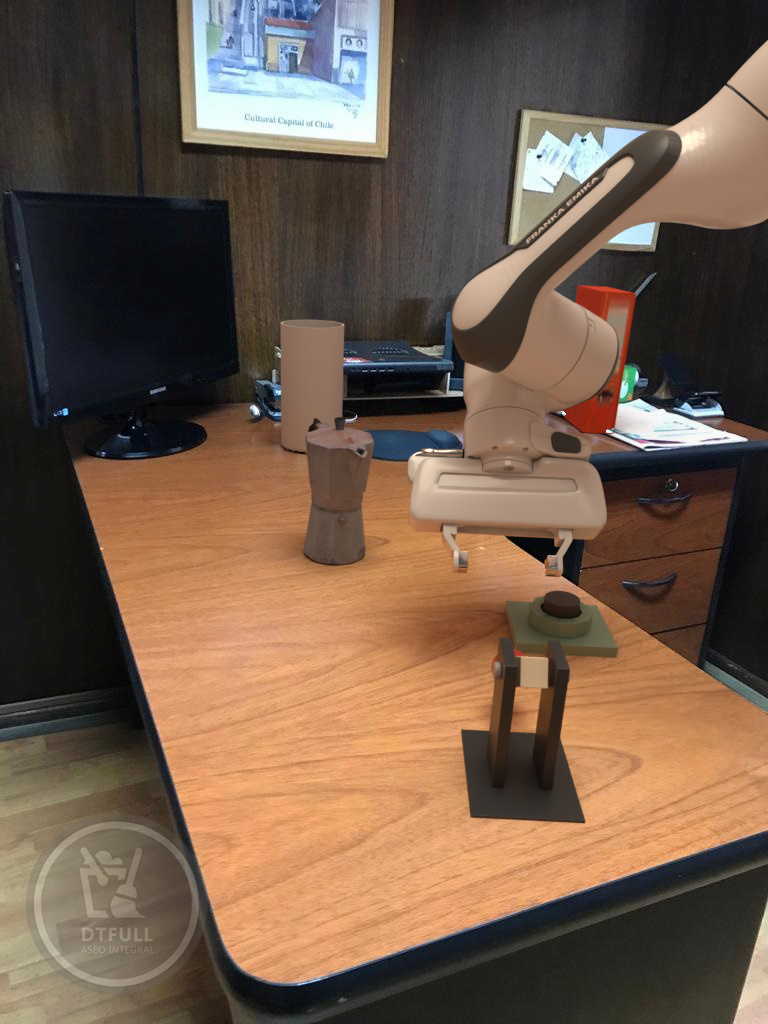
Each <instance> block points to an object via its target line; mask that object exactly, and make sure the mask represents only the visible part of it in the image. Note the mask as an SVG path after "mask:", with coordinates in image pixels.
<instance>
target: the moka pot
mask: <svg viewBox="0 0 768 1024" xmlns="http://www.w3.org/2000/svg"><path fill="white" fill-rule="evenodd" d="M346 420H347V419H346V418H345V417H344V416H342V417H337V418H335V419H334V421H335V427H330V426H329V425H328V424H326V423H321V422H320V421H319V419H317V418H314V420H313V424H312V425H311V426H310V427H309V430H308V433H306V434H305V438H306V449H307V453H306V455H307V456H306V458H307V469H308V479H309V486H310V491H311V492H310V496H311V497H310V501H311V503H310V510H309V515H308V521H307V527H306V528H307V529H306V533H305V538H304V545H303V553H304V554H305V556H306V557H308V559H310V560H312V561H314V562H317V563H320V564H323V565H331V566H334V565H335V566H336V565H337V566H342V565H349V564H352V563H356V562H358V561H359V560H361V559H363V557H365V555H366V541H365V540H366V539H365V527H364V517H363V516H364V515H363V505H362V504H363V499H364V493H366V490H367V487H368V480H369V475H370V469H371V462H372V458H373V454H374V447H375V441H374V438H373V437H372V433H370V432H367V431H364V430H360V429H357V428H353V427H345V425H346Z"/></svg>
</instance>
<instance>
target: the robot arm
mask: <svg viewBox="0 0 768 1024" xmlns="http://www.w3.org/2000/svg"><path fill="white" fill-rule="evenodd" d="M766 220H768V40H766V41H765V42H764V43H762V45H761V46H760V47H759V48H758V49H757V50H756V51H755V52H754V53H753V54H751V56H750V57H749V58H748V59H747V60H746V61H745V62H744V63H743V64H742V66H740V68H739V69H738V70H737V71H736V72H735V73H734V74H733V76H731V78H730V79H729V80H728V81H727V82H726V85H724V86H723V87H722V88H721V89H720V90H719V91H718V92H717V93H716V94H715V95H714V96H713V97H712V98H711V99H710V100H709V101H708V102H706V104H704V105H703V106H702V107H700V109H698V110H696V111H695V112H694V113H692V114H691V115H689V116H688V117H687V118H685V119H683V120H681V121H680V122H678V123H676V124H675V125H672V126H671V127H668V128H666V129H652V130H649V131H645V132H644V133H641V134H640V135H638V136H636V137H634V138H633V139H632V140H630V141H629V142H628V143H627V144H625V145H624V146H623V147H621V148H620V149H619V150H618V151H617V152H615V153H614V154H613V155H611V156H610V157H609V158H608V159H607V160H606V161H604V163H602V165H600V166H599V167H598V168H597V169H596V170H595V171H594V172H592V173H591V175H589V177H587V178H586V179H585V180H584V181H583V182H582V183H581V184H579V185H578V187H576V188H575V189H574V190H573V191H572V192H571V193H570V194H569V195H567V196H566V198H565V199H563V200H562V201H561V202H560V203H559V204H558V205H557V206H556V207H554V209H552V210H551V211H550V212H549V213H548V214H547V215H546V216H545V217H544V218H543V219H542V220H540V221H539V222H538V223H537V224H536V225H535V226H534V227H533V228H532V229H531V230H530V231H528V233H526V235H524V236H523V237H522V238H521V239H520V240H519V241H518V242H517V243H516V244H514V245H513V246H512V247H511V248H510V249H509V250H508V251H506V252H505V253H504V254H502V255H501V256H499V257H497V259H495V260H493V261H492V262H490V263H489V264H487V265H486V266H485V267H483V268H481V269H480V270H479V271H477V272H476V273H475V274H474V275H472V276H471V277H470V278H469V279H468V280H467V281H466V282H465V284H464V285H463V286H462V287H461V288H460V290H459V291H458V293H457V295H456V297H455V298H454V300H453V303H452V305H451V309H450V315H449V320H450V321H449V322H450V331H451V335H452V336H451V337H452V340H453V343H454V346H455V349H456V350H457V354H458V355H459V357H460V358H461V360H462V361H463V362H464V367H463V383H462V384H463V387H462V388H463V389H462V390H463V391H462V392H463V393H462V394H463V400H464V403H465V407H466V415H465V418H464V420H463V426H462V427H463V428H462V429H463V430H462V435H463V436H462V438H463V439H462V441H463V442H462V449H461V448H460V449H459V448H458V449H456V448H443V449H437V448H433V447H424V448H421V451H416V452H414V453H413V454H412V455H410V456H409V457H408V460H407V461H406V477H407V480H408V483H410V484H411V485H412V486H411V492H410V498H409V506H408V519H407V520H408V521H407V522H408V525H409V526H410V527H411V528H412V530H413V531H414V532H419V533H434V534H441V543H442V545H443V547H444V548H445V550H446V551H447V553H448V555H449V556H450V558H451V572H452V573H456V574H457V573H462V574H467V573H468V569H469V561H468V559H469V551H465V550H464V551H463V550H461V549H460V547H459V546H458V544H457V542H456V538H457V534H460V535H476V536H477V535H478V536H479V535H480V536H501V537H520V538H521V537H523V538H524V537H525V538H544V539H546V538H547V539H553V540H554V541H553V543H554V547H556V548H559V549H558V551H557V552H556V553H555V555H552V554H550V555H549V554H548V555H547V556H546V559H545V560H544V569H545V571H544V575H545V577H550V578H552V577H553V578H561V577H562V575H563V573H564V562H563V560H564V559H563V558H564V556H565V554H566V553H567V551H568V549H569V547H570V546H571V544H572V542H573V540H589V541H591V540H594V539H596V538H597V537H598V535H599V534H600V533H602V531H603V530H604V528H605V527H606V524H607V519H608V513H607V512H608V511H607V504H606V498H605V493H604V487H603V483H602V479H601V476H600V474H599V471H598V470H597V469H596V466H594V465H593V464H592V463H590V458H591V455H592V445H591V442H590V441H589V439H587V438H585V437H581V436H579V435H576V434H573V433H570V432H567V431H564V430H560V429H559V428H555V427H553V426H550V425H548V424H546V422H545V417H546V415H548V414H549V413H551V414H555V413H559V412H560V413H561V411H563V410H566V409H568V408H571V407H574V406H576V405H578V404H581V403H583V402H585V401H587V400H589V399H591V398H593V397H595V396H596V395H598V394H599V393H600V392H601V391H602V390H603V389H604V388H605V387H606V386H607V385H608V383H609V382H610V380H611V379H612V377H613V374H614V372H615V370H616V366H617V363H618V358H619V340H618V336H617V333H616V331H615V329H614V327H613V326H612V325H610V324H609V323H607V322H606V321H604V320H603V319H602V318H600V317H598V316H597V315H595V314H594V313H592V312H590V311H589V310H587V309H586V308H584V307H582V306H581V305H579V304H577V303H575V302H574V301H572V300H571V299H569V298H567V297H566V296H564V295H563V294H561V293H559V292H557V290H555V289H556V288H557V287H558V286H559V285H561V284H562V283H563V282H564V281H565V280H566V279H568V277H569V276H571V275H572V274H574V273H575V272H576V271H577V270H578V269H579V268H580V267H581V266H583V264H585V263H586V262H587V261H588V260H589V259H590V258H592V257H593V256H594V255H595V254H596V253H598V252H599V251H600V250H601V249H602V248H603V247H604V246H606V244H607V243H609V242H610V241H611V240H612V239H614V238H615V237H617V236H618V235H620V234H621V233H623V232H625V231H626V230H629V229H631V228H633V227H637V226H640V225H645V224H651V223H672V224H673V223H675V224H682V225H683V224H684V225H689V226H695V227H700V228H705V229H710V230H711V229H712V230H735V229H741V228H747V227H750V226H754V225H757V224H760V223H763V222H764V221H766Z"/></svg>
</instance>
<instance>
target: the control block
mask: <svg viewBox="0 0 768 1024" xmlns="http://www.w3.org/2000/svg"><path fill="white" fill-rule="evenodd" d="M544 597H545V595H542V596H538V597H535V598H534V599H533V600H532V601H516V600H505V605H504V612H505V616H506V619H507V623H508V627H509V631H510V635H511V640H512V644H513V648H514V649H515V650H518V651H520V652H522V653H523V654H537V655H538V654H541V655H546V650H547V642H548V640H556V641H560V644H561V646H562V649H563V652H564V654H565V656H578V657H579V656H580V657H598V658H618V657H617V656H618V650H619V647H618V645H617V643H616V641H615V639H614V637H613V635H612V632H611V631H610V629H609V627H608V625H607V623H606V621H605V619H604V617H603V615H602V613H601V611H600V609H599V607H598V605H596V604H585V603H583V602H582V601H581V600H580V608H579V615H578V617H576V618H572V619H561V618H556V617H553V616H549V615H548V614H546V613H545V612H543V604H544Z"/></svg>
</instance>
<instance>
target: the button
mask: <svg viewBox="0 0 768 1024" xmlns="http://www.w3.org/2000/svg"><path fill="white" fill-rule="evenodd" d="M544 596H545V597H544V604H543V612H545V613H546V614H548V615H549V616H553V617H556V618H561V619H572V618H576V617H578V615H579V608H580V601H581V598H580V597H578V596H577V595H576V594H575V593H572V592H569V591H564V590H550V591H548V592H546V593H545V594H544Z"/></svg>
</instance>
